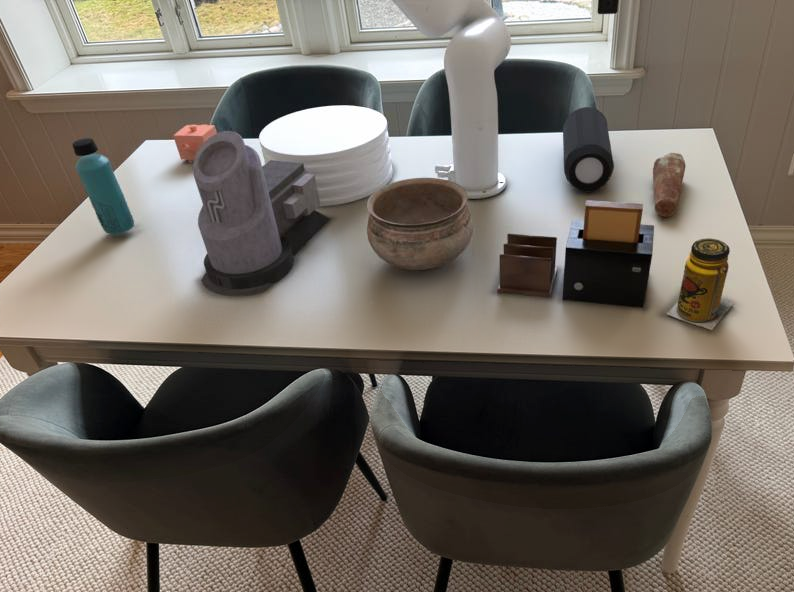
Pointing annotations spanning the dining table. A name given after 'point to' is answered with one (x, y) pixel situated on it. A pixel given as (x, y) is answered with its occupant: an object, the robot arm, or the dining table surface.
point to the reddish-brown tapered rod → (668, 183)
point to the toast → (612, 221)
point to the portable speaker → (587, 150)
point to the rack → (528, 265)
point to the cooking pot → (419, 222)
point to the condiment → (703, 285)
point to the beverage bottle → (102, 188)
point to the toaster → (607, 268)
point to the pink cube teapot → (192, 139)
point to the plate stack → (334, 149)
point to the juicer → (251, 215)
